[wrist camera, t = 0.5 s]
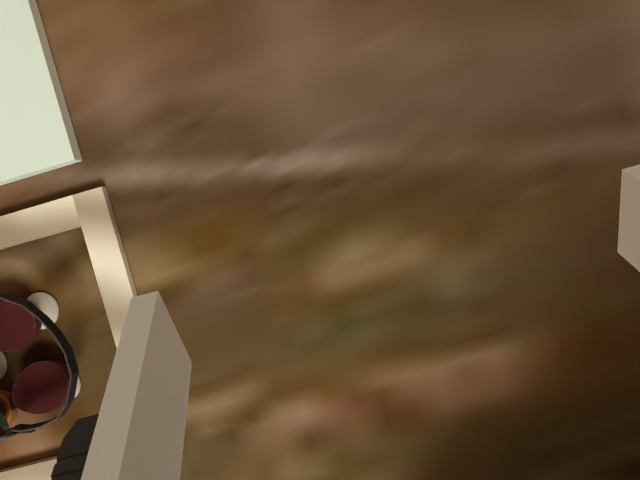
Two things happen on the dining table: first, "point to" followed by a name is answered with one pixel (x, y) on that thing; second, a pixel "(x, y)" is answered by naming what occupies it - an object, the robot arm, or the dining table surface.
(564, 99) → the dining table surface
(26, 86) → the pad
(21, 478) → the frame
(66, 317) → the dining table surface
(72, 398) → the binoculars
